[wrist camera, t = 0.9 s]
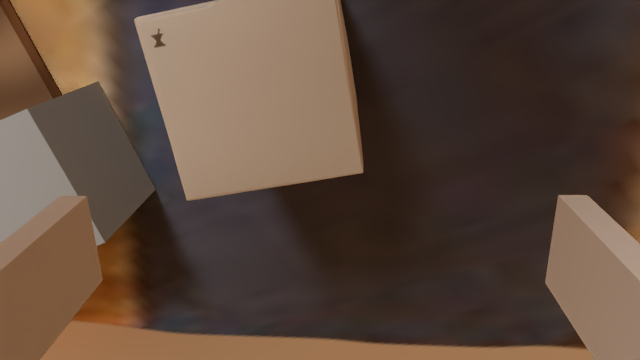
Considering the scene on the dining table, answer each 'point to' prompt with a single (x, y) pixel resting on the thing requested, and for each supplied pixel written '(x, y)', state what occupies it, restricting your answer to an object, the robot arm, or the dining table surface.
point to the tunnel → (70, 162)
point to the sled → (20, 67)
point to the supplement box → (254, 93)
